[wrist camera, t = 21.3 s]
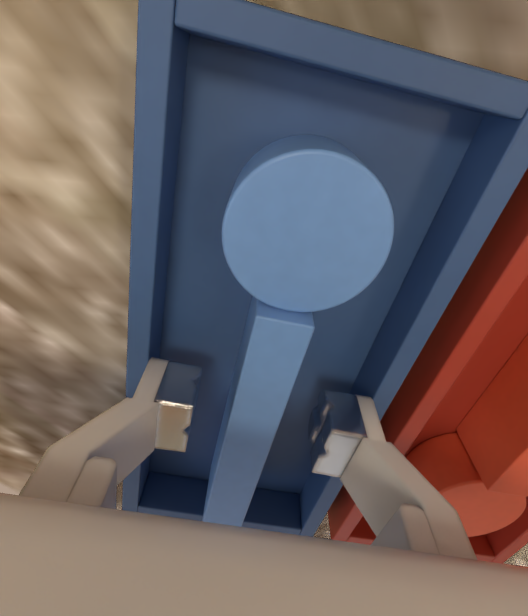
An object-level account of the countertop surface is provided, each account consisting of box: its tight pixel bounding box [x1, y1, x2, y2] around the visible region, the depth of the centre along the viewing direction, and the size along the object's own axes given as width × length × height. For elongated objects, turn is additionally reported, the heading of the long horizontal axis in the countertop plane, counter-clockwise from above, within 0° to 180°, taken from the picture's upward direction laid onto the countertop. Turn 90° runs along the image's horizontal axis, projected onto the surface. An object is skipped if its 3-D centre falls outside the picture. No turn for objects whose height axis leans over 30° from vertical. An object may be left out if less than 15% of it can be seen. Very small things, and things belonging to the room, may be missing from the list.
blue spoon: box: [202, 135, 394, 527], centre depth 11 cm, size 13×4×2 cm, turn 167°
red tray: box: [328, 168, 528, 563], centre depth 12 cm, size 8×16×2 cm, turn 167°
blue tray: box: [122, 0, 528, 537], centre depth 11 cm, size 8×16×2 cm, turn 167°
